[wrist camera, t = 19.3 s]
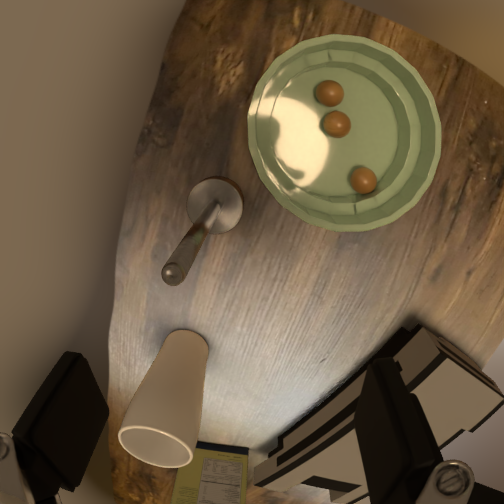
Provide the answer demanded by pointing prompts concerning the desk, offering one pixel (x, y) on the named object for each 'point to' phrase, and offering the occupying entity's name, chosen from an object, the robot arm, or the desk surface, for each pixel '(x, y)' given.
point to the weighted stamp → (204, 222)
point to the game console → (344, 406)
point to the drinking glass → (168, 404)
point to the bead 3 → (363, 180)
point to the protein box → (213, 476)
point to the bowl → (354, 143)
